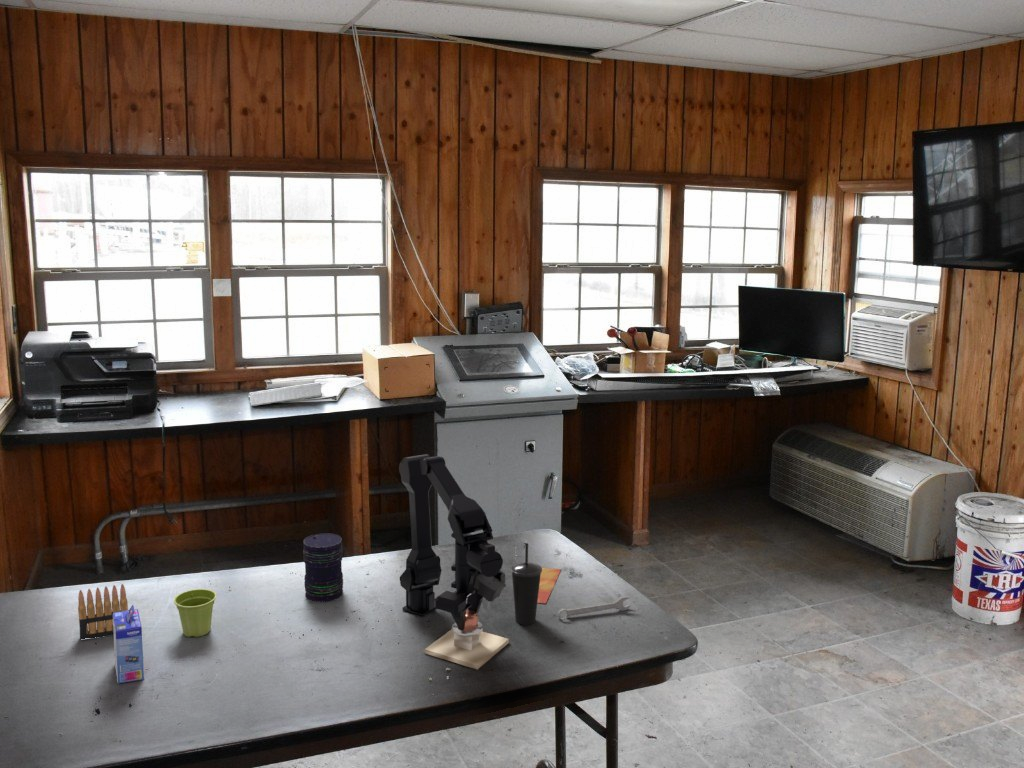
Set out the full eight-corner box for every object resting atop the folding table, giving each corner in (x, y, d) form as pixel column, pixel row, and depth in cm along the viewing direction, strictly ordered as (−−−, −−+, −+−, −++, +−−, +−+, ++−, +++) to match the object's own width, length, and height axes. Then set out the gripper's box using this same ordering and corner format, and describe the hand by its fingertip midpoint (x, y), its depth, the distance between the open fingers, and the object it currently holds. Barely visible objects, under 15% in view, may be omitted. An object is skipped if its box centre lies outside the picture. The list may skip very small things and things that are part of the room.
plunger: (446, 645, 200) (446, 616, 199) (462, 633, 206) (462, 605, 205) (472, 653, 197) (472, 624, 196) (488, 640, 203) (488, 612, 202)
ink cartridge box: (146, 679, 187) (141, 616, 184) (117, 685, 184) (112, 621, 181) (141, 658, 195) (137, 597, 192) (114, 663, 193) (109, 602, 190)
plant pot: (225, 631, 208) (223, 597, 206) (188, 645, 201) (185, 610, 200) (205, 618, 214) (204, 585, 213) (168, 631, 208) (166, 597, 206)
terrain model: (561, 571, 247) (561, 569, 246) (545, 605, 225) (545, 603, 225) (475, 561, 252) (475, 559, 252) (452, 594, 231) (452, 592, 231)
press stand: (424, 653, 199) (424, 634, 198) (458, 628, 211) (458, 610, 210) (477, 669, 193) (477, 650, 192) (508, 642, 205) (509, 625, 204)
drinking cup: (538, 629, 212) (539, 551, 208) (507, 626, 213) (508, 548, 209) (543, 615, 219) (545, 539, 215) (513, 612, 220) (514, 536, 216)
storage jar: (351, 592, 230) (350, 538, 227) (324, 606, 222) (323, 550, 219) (323, 583, 235) (322, 530, 232) (296, 596, 227) (294, 541, 224)
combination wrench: (558, 609, 216) (632, 597, 222) (556, 607, 217) (630, 595, 223) (558, 623, 216) (632, 611, 222) (556, 621, 218) (630, 608, 224)
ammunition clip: (130, 628, 209) (126, 581, 206) (130, 632, 207) (126, 584, 205) (80, 637, 204) (75, 589, 202) (80, 640, 203) (75, 592, 200)
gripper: (476, 583, 186) (476, 651, 189) (519, 554, 202) (517, 617, 205) (433, 572, 191) (433, 638, 194) (477, 544, 207) (477, 606, 210)
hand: (467, 625), depth 201 cm, fingers closed on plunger, 5 cm apart
